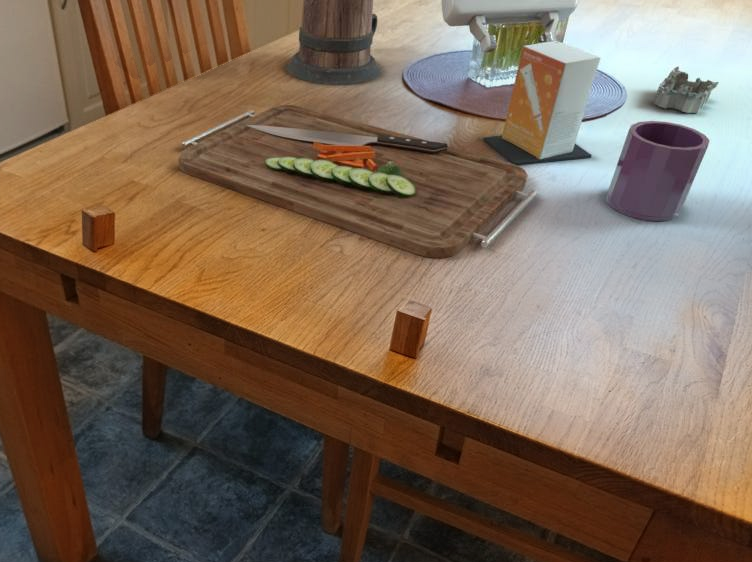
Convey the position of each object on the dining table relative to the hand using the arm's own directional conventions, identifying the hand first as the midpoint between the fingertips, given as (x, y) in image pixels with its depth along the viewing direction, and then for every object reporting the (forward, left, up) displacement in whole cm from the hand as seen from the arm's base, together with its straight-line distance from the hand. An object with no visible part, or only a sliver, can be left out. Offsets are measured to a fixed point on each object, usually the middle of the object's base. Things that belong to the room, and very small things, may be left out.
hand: (519, 48), depth 103 cm
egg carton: (-34, -2, -11) cm, 36 cm away
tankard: (+15, -32, -11) cm, 37 cm away
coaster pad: (0, +10, -11) cm, 15 cm away
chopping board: (+29, +12, -11) cm, 33 cm away
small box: (0, +10, -11) cm, 14 cm away
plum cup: (-4, +28, -11) cm, 30 cm away
